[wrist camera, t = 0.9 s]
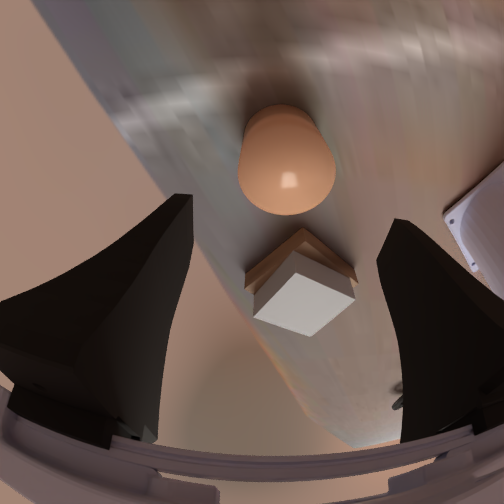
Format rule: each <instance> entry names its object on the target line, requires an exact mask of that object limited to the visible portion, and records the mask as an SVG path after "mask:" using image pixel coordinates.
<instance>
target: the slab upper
mask: <svg viewBox="0 0 504 504" xmlns="http://www.w3.org/2000/svg"><path fill="white" fill-rule="evenodd" d="M355 300H356V299H355V295H354V292H353V288H352V284H351V281H350V278H348V277H346V276H344V275H342V274H340V273H338V272H336V271H334V270H332V269H330V268H328V267H326V266H324V265H322V264H320V263H318V262H316V261H314V260H312V259H310V258H307V257H305V256H303V255H301V254H299V253H297V252H295V251H292V253H291V254H290V255H289V256H288V257H287V258H286V259H285V261H284V262H283V263H282V264H281V265H280V266H279V268H278V269H277V270H276V271H275V272H274V273H273V274H272V276H271V277H270V278H269V279H268V280H267V281H266V282H265V283H264V285H263V286H262V287H261V288H260V289H259V290H258V291H257V293H256V294H255V295H254V309H253V317H254V318H257V319H260V320H263V321H266V322H268V323H271V324H274V325H277V326H280V327H283V328H286V329H289V330H291V331H294V332H297V333H300V334H303V335H306V336H309V337H311V336H312V335H313V334H315V333H316V332H317V331H318V330H320V329H321V328H322V327H323V326H325V325H326V324H327V323H328V322H330V321H331V320H332V319H333V318H334V317H336V316H337V315H338V314H339V313H340V312H342V311H343V310H344V309H345V308H346V307H348V306H349V305H350V304H351V303H352V302H353V301H355Z"/></svg>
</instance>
